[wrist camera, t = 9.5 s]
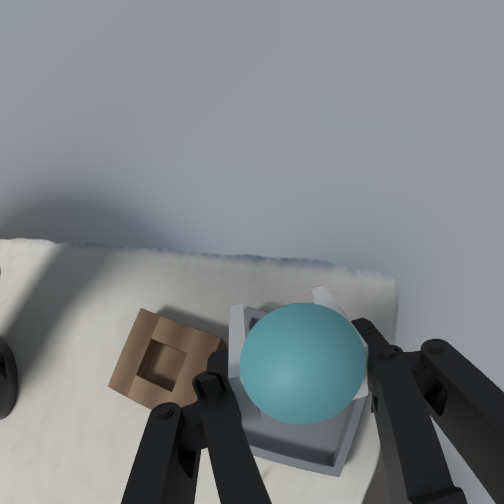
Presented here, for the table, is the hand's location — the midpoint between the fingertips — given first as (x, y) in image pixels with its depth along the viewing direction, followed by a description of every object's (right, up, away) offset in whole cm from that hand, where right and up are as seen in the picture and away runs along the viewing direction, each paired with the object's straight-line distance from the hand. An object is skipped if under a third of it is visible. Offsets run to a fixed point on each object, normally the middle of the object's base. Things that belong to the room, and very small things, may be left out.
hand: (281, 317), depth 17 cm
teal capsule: (+1, -6, +2) cm, 6 cm away
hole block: (-12, -11, +19) cm, 25 cm away
